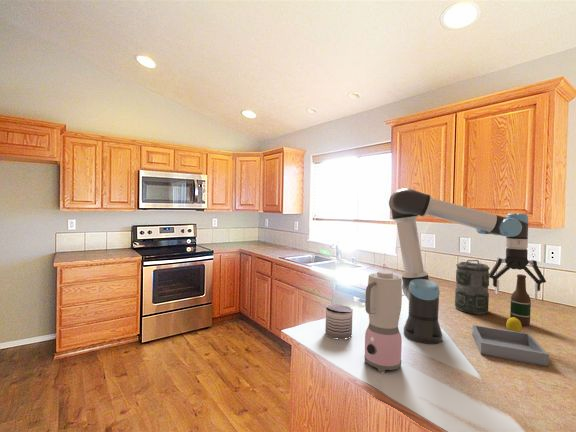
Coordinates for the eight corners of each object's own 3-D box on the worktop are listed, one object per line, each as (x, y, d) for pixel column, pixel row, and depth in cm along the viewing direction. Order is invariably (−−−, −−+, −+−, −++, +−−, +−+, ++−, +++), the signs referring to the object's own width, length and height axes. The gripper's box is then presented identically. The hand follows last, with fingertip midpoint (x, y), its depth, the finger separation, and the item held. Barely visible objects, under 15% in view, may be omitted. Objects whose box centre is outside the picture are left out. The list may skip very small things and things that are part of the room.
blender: (379, 352, 111) (381, 267, 110) (408, 366, 101) (411, 273, 100) (350, 363, 102) (352, 271, 101) (379, 380, 92) (382, 278, 91)
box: (480, 354, 111) (481, 342, 111) (472, 334, 129) (472, 324, 129) (548, 367, 103) (548, 354, 103) (528, 344, 121) (529, 333, 121)
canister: (470, 315, 154) (472, 262, 154) (448, 306, 170) (449, 257, 169) (495, 314, 158) (497, 262, 157) (471, 305, 173) (473, 257, 173)
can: (320, 331, 130) (321, 303, 129) (342, 327, 134) (343, 301, 134) (333, 341, 119) (334, 312, 119) (357, 338, 123) (358, 309, 123)
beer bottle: (511, 319, 150) (513, 272, 150) (531, 323, 145) (532, 275, 145) (508, 323, 145) (510, 274, 145) (528, 327, 139) (530, 277, 139)
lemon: (506, 331, 134) (506, 313, 134) (521, 334, 131) (522, 316, 131) (505, 335, 130) (506, 317, 130) (521, 338, 127) (522, 320, 127)
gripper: (484, 247, 132) (483, 294, 132) (556, 251, 121) (555, 302, 122) (481, 245, 139) (480, 290, 139) (549, 249, 128) (548, 297, 129)
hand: (515, 296), depth 130 cm, fingers open, 13 cm apart
